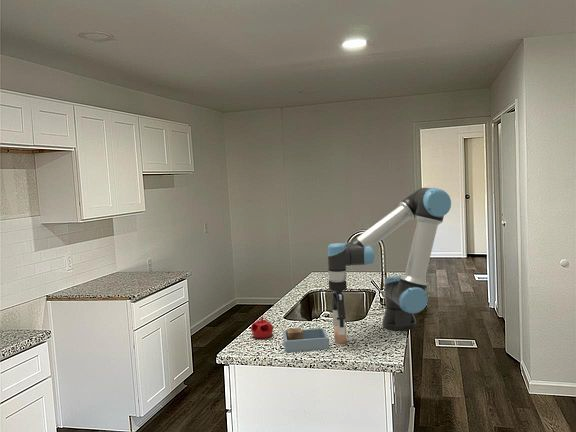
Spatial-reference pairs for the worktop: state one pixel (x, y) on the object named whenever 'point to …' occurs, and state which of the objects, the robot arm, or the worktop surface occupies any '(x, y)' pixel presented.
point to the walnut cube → (294, 334)
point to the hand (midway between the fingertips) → (338, 329)
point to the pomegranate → (262, 328)
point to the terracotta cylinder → (339, 336)
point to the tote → (307, 341)
